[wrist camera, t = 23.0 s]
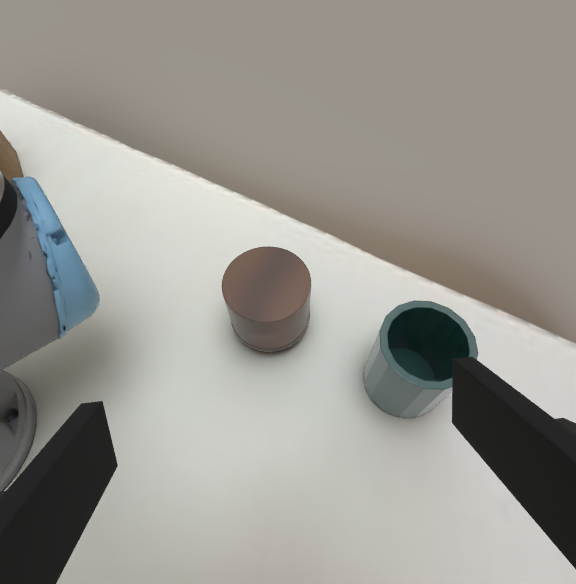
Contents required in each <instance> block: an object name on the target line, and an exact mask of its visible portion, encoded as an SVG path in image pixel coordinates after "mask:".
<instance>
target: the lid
mask: <svg viewBox="0 0 576 584" xmlns="http://www.w3.org/2000/svg"><path fill="white" fill-rule="evenodd" d="M222 292H223V296H224V300H225V303H226V306H227V309H228V312H229V315H230V319H231V323H232V326H233V329H234V332H235V334H236V335H237V337H238V338H239V339H240V340H241V341H242V342H243V343H244V344H245V345H247V346H249V347H250V348H252V349H255V350H258V351H263V352H275V351H280V350H284V349H286V348H288V347H290V346H292V345H294V344H295V343H296V342H297V341H299V340H300V339H301V337H302V336H303V335H304V333H305V332H306V329H307V327H308V324H309V318H310V294H311V278H310V273H309V271H308V269H307V267H306V265H305V264H304V262H303V261H302V260H301V259H300V258H299V257H298V256H296V255H295V254H293V253H292V252H290V251H287V250H285V249H282V248H277V247H259V248H254V249H251V250H249V251H246V252H244V253H242V254H241V255H239V256H238V257H237V258H235V259H234V260H233V261H232V262H231V263H230V265H229V266H228V268H227V269H226V271H225V273H224V276H223V280H222Z"/></svg>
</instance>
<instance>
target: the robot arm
mask: <svg viewBox="0 0 576 584" xmlns="http://www.w3.org/2000/svg"><path fill="white" fill-rule="evenodd" d="M98 305H99V293H98V291H97V288H96V286H95V284H94V282H93V280H92V278H91V276H90V275H89V273H88V271H87V269H86V267H85V265H84V263H83V262H82V260H81V258H80V256H79V254H78V253H77V251H76V249H75V247H74V246H73V244H72V242H71V240H70V239H69V237H68V235H67V233H66V231H65V229H64V228H63V226H62V224H61V222H60V220H59V218H58V216H57V215H56V213H55V211H54V209H53V207H52V206H51V204H50V202H49V200H48V199H47V197H46V195H45V194H44V192H43V190H42V188H41V187H40V185H39V184H38V182H37V181H36V180H35V179H34V178H32V177H23V178H19V177H17V178H15V177H14V178H12V179H11V181H10V182H9V181H8V180H7V179H6V177H5V176H4V175H3V174H2V172H1V171H0V584H56V582H57V581H58V579H59V577H60V575H61V573H62V571H63V569H64V567H65V565H66V563H67V561H68V560H69V558H70V556H71V554H72V552H73V550H74V548H75V546H76V544H77V542H78V540H79V539H80V537H81V535H82V533H83V531H84V529H85V527H86V525H87V523H88V521H89V519H90V518H91V516H92V514H93V512H94V510H95V508H96V506H97V504H98V502H99V500H100V498H101V497H102V495H103V493H104V491H105V489H106V487H107V485H108V483H109V481H110V479H111V477H112V476H113V474H114V472H115V470H116V468H117V466H118V465H117V461H116V457H115V452H114V448H113V444H112V440H111V435H110V431H109V427H108V423H107V418H106V414H105V410H104V406H103V401H99V402H91V403H82V404H80V406H79V407H78V408H77V409H76V410H75V411H74V413H73V414H72V415H71V416H70V417H69V418H68V420H67V421H66V422H65V423H64V424H63V425H62V427H61V428H60V429H59V430H58V431H57V432H56V434H55V435H54V436H53V437H52V438H51V439H50V441H49V442H48V443H47V444H46V445H45V446H44V448H43V449H42V450H41V451H40V452H39V453H38V455H37V456H36V457H35V458H34V459H33V460H32V462H31V463H30V464H29V465H28V466H27V467H26V469H25V470H24V471H23V472H22V473H21V474H20V476H19V477H18V478H17V479H16V480H15V481H14V483H13V484H12V485H11V486H10V487H9V489H8V490H7V491H3V492H1V491H2V490H3V489H4V488H5V487H6V486H7V485H8V484H9V482H10V481H11V480H12V479H13V477H14V476H15V475H16V473H17V472H18V470H19V469H20V467H21V465H22V464H23V462H24V460H25V458H26V456H27V454H28V452H29V449H30V447H31V444H32V441H33V437H34V433H35V426H36V410H35V404H34V401H33V398H32V396H31V393H30V392H29V390H28V388H27V387H26V386H25V385H24V384H23V383H22V382H21V381H20V380H19V379H17V378H16V377H14V376H12V375H10V374H9V373H7V372H5V371H3V369H5V368H6V367H8V366H10V365H12V364H13V363H15V362H17V361H19V360H20V359H22V358H24V357H26V356H28V355H29V354H31V353H33V352H35V351H36V350H38V349H40V348H42V347H44V346H45V345H47V344H49V343H51V342H52V341H54V340H56V339H59V338H61V337H63V336H64V335H65V334H66V332H67V331H69V330H70V329H72V328H73V327H75V326H76V325H78V324H79V323H81V322H82V321H84V320H85V319H87V318H88V317H90V316H91V315H92V314H93V313H94V312H95V310H96V308H97V307H98ZM452 423H453V425H454V426H455V427H456V428H457V429H458V430H459V432H460V433H461V434H462V435H463V436H464V438H465V439H466V440H467V441H468V442H469V443H470V445H471V446H472V447H473V448H474V449H475V451H476V452H477V453H478V454H479V455H480V456H481V458H482V459H483V460H484V461H485V462H486V464H487V465H488V466H489V467H490V468H491V470H492V471H493V472H494V473H495V474H496V475H497V477H498V478H499V479H500V480H501V481H502V483H503V484H504V485H505V486H506V487H507V488H508V490H509V491H510V492H511V493H512V494H513V496H514V497H515V498H516V499H517V500H518V501H519V503H520V504H521V505H522V506H523V507H524V509H525V510H526V511H527V512H528V513H529V514H530V516H531V517H532V518H533V519H534V520H535V522H536V523H537V524H538V525H539V526H540V527H541V529H542V530H543V531H544V532H545V533H546V535H547V536H548V537H549V538H550V539H551V541H552V542H553V543H554V544H555V545H556V546H557V548H558V549H559V550H560V551H561V552H562V554H563V555H564V556H565V557H566V558H567V559H568V561H569V562H570V563H571V564H572V565H573V567H574V568H575V569H576V423H574V422H571V421H569V420H567V419H565V418H559V419H554V418H553V417H551V416H550V415H549V414H547V413H546V412H545V411H543V410H542V409H541V408H539V407H538V406H537V405H535V404H534V403H533V402H531V401H530V400H529V399H528V398H526V397H525V396H524V395H522V394H521V393H520V392H518V391H517V390H516V389H514V388H513V387H512V386H510V385H509V384H508V383H506V382H505V381H504V380H502V379H501V378H500V377H499V376H497V375H496V374H495V373H493V372H492V371H491V370H489V369H488V368H487V367H485V366H484V365H483V364H481V363H480V362H479V361H477V360H476V359H475V358H474V357H464V358H456V359H453V377H452Z"/></svg>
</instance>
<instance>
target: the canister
mask: <svg viewBox="0 0 576 584" xmlns="http://www.w3.org/2000/svg"><path fill="white" fill-rule="evenodd" d="M464 357H474V358H475V359H476V360H477V357H478V350H477V345H476V339H475V336H474V334H473V333H472V331H471V330H470V328H469V327H468V325H467V323H466V322H465V321H464V320H463V319H462V318H461V317H460V316H458V315H457V314H456V313H455V312H453V311H452V310H451V309H449V308H447V307H445V306H442V305H439V304H437V303H434V302H431V301H411V302H408V303H405V304H402V305H399V306H397V307H396V308H395V309H394V310H392V311H391V312H390V313H389V314H388V315H387V316H386V317H385V319H384V322H383V324H382V326H381V329H380V331H379V333H378V336H377V338H376V340H375V343H374V345H373V348H372V350H371V352H370V355H369V357H368V359H367V362H366V364H365V367H364V372H363V379H364V385H365V388H366V391H367V393H368V395H369V397H370V398H371V400H372V401H373V402H374V403H375V405H377V406H378V407H379V408H380V409H381V410H383V411H384V412H386V413H388V414H390V415H392V416H395V417H399V418H416V417H419V416H422V415H424V414H426V413H428V412H430V411H431V410H432V409H433V408H434V407H435V406H436V405H438V404H439V403H440V402H441V401H442V400H443V399H444V398H446V397H447V396H448V395H449V394H450V393H451V392H452V377H453V359H456V358H464Z"/></svg>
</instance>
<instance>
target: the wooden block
mask: <svg viewBox="0 0 576 584" xmlns="http://www.w3.org/2000/svg"><path fill="white" fill-rule="evenodd" d="M0 171H1V172H2V174H3V175H4V176H5V177H6V179H7V180H8V181H9V182H10V181H11V179H12V178H14V177H15V178H17V177H19V178H23V174H22V171H21V167H20V164H19V161H18V157H17V154H16V151H15V150H14V148H13V147H12V146H11V144H10V143H9V142H8V140H7V139H6V138H5V136H4V135H3V134H2V132H1V131H0Z"/></svg>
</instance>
